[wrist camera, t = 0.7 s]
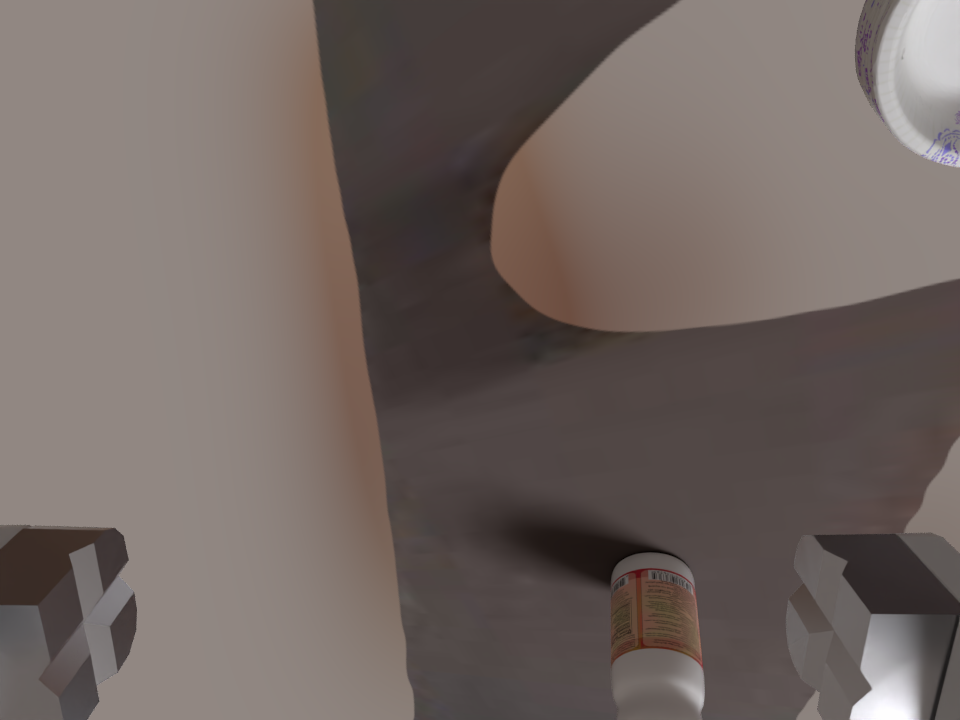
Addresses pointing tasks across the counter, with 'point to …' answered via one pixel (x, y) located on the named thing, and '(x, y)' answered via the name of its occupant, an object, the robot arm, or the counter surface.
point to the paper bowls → (913, 72)
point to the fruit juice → (655, 640)
